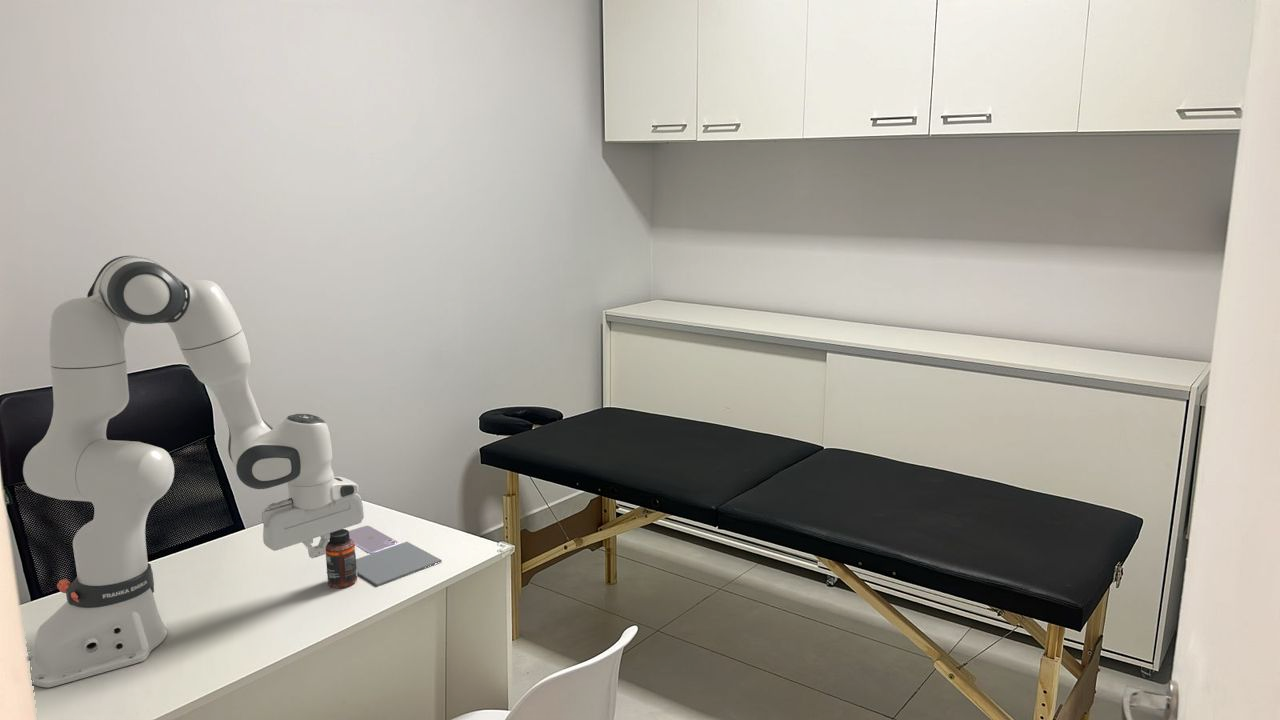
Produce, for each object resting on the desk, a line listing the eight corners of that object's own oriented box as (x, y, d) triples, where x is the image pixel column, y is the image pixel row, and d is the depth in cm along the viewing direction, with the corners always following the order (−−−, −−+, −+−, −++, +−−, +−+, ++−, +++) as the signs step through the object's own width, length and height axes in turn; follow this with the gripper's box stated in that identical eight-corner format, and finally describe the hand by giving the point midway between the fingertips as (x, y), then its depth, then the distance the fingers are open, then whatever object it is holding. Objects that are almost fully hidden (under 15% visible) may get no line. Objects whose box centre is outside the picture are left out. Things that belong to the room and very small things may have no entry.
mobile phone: (368, 523, 215) (401, 542, 205) (368, 527, 215) (401, 546, 205) (338, 532, 209) (371, 552, 199) (339, 536, 210) (371, 556, 199)
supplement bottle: (362, 576, 189) (358, 527, 186) (350, 589, 183) (347, 539, 181) (335, 575, 190) (331, 526, 187) (323, 588, 184) (319, 537, 181)
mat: (377, 586, 185) (377, 584, 184) (343, 565, 194) (343, 563, 194) (441, 562, 196) (441, 560, 196) (407, 543, 205) (407, 541, 205)
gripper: (268, 511, 168) (275, 577, 172) (365, 483, 183) (369, 544, 186) (254, 502, 173) (260, 567, 176) (349, 475, 187) (354, 536, 190)
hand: (317, 555), depth 181 cm, fingers closed
